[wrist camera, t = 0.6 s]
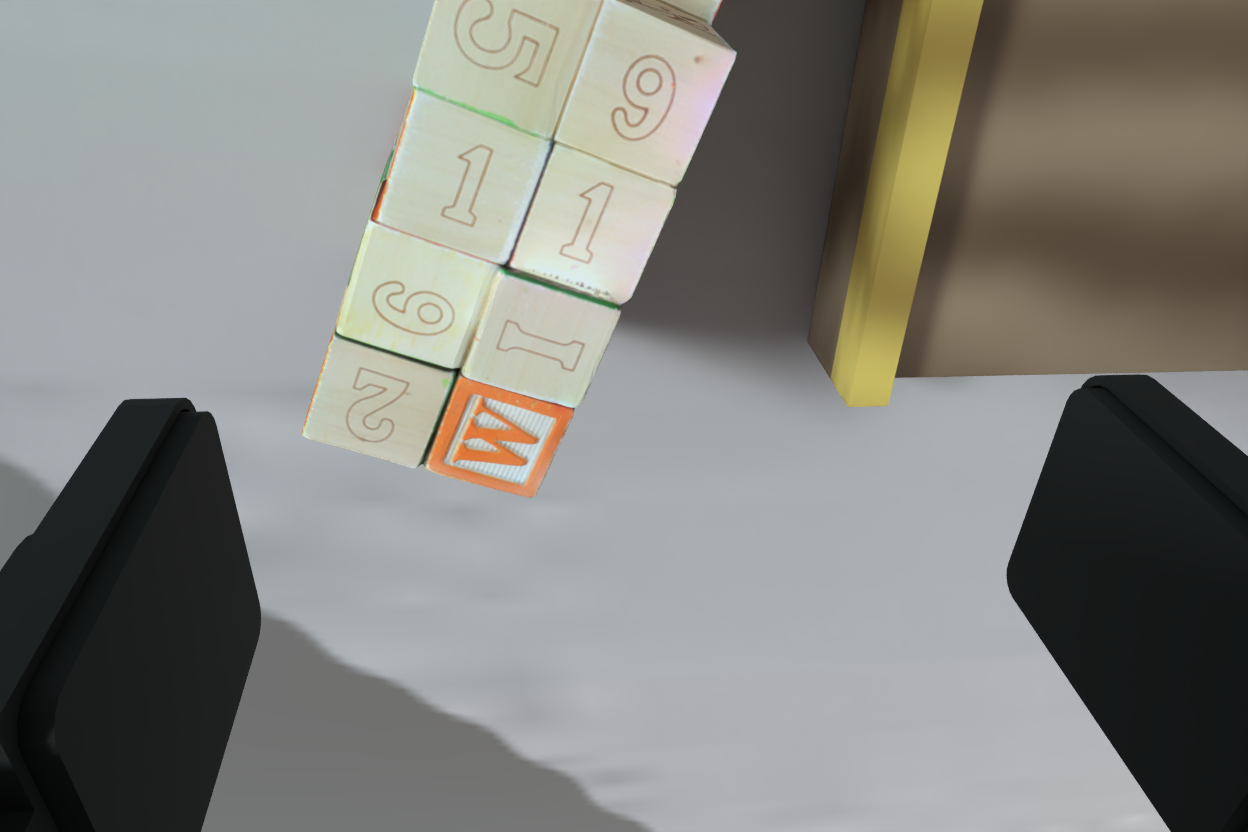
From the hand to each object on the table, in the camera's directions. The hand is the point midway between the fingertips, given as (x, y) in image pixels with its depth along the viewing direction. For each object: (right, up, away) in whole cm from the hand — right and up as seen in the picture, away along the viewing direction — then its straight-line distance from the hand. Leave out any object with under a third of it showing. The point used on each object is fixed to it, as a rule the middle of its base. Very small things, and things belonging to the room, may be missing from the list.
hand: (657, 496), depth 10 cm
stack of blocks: (-3, +14, +19) cm, 24 cm away
